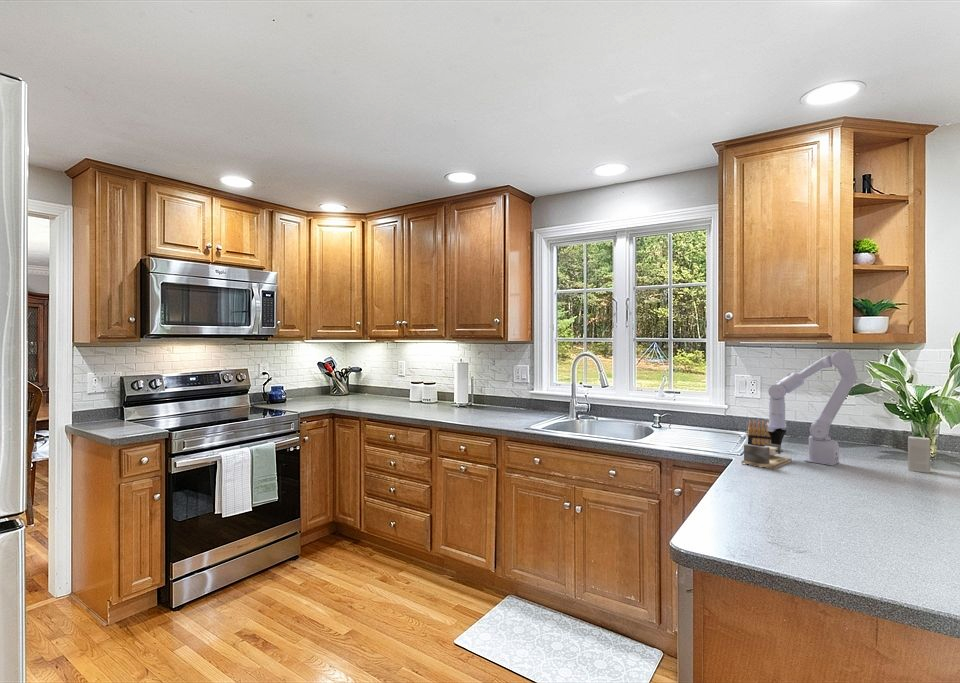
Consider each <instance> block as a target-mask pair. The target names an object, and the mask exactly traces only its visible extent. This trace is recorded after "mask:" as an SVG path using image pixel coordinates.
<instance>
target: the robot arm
mask: <svg viewBox="0 0 960 683" xmlns="http://www.w3.org/2000/svg"><path fill="white" fill-rule="evenodd" d="M833 366H834V367H835V368H836V369H837V370H838V371H837V372H838V373H839V375H840V377H841V378H840V379H839V381H838V383H837V385H836V386H835V388H834V390H833V391H832V393H831V396H830V397H829V399H828V401H827V403H826V404H825V405H824V407H823V409H822V411H821V413H820V415H819V416H818V418H817V419H816V420H814V421H813V422H812V423H811V424H810V427H809V429H808V430H809V434H810V435H809V436H808V458H806V459H805V460H804V461H805V462H808V463H815V464H821V465H826V466H827V465H829V466H835V465H837V464H839V463H840V458H839V456H840V455H839V453H840V452H839V451H840V450H839V449H840V445H839V442H838V441H836V440H832V438H831V437H830V435H829V434H830V430H831V425H832V423H833V422H834V420H835V418H836V416H837V414H838V412H839V410H840V409H841V408H842V405H843V404H844V402H845V400H846V398H847V397H848V395H849V393H850V392H851V390H852V388H853V386H854V384H855V383H856V381H857V378H858V375H857V370H856V364H855V361H854V358H852V355H851V354H850V353H849V352H847V351H846V350H841V349H840V350H836V351H834V352H833V353H832V354H831V353H830V354H828V355H826V356H824V357H821V358H820V359H817V361H815V362H813V363H811V364H810V365H809V366H807V367H806V368H804V369H803V370H801V371H799V372H792V373H791V372H789V373H786V376H785V377H784V378H782V379H780V380H776V383H775V384H772V385H771V386H770V387H769V388H768V390H767V391H768V395H769V398H768V421H769V423H767V422H766V423H765V427H767V431H768V433H769V434H770V437H771V439H772V443H773V444H778V445H781V446H782V443H783V439H784V436H785V435H786V433H787V429H786V428H787V423H786V402H785V401H786V400H785V399H786V398H785V396H786V394H790V393H792V392H793V391H795V390H797V389H798V388H799V387H801V386H803V385H804V383H805V379H807V378H809V377H810V376H813V375H814V374H816V373H818V372H819V371H821V370H823V369H827V368H828V369H829V368H832V367H833Z"/></svg>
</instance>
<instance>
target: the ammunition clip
mask: <svg viewBox="0 0 960 683" xmlns="http://www.w3.org/2000/svg"><path fill="white" fill-rule="evenodd" d="M756 421H757V420H755V419H754V420H753V422H752V420H751V419H749V421H748V427H747V444H751V445H758V446H764V443H771V444H773V443H772V439H771V437H770V434H769V433H768V431H767V426H766V424H767V423H769V420H767V422H765V420H764V419H763V420H762V422H761V421H760V420H759V419H758V421H757V422H756Z"/></svg>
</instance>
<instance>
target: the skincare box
mask: <svg viewBox="0 0 960 683" xmlns="http://www.w3.org/2000/svg"><path fill="white" fill-rule="evenodd" d="M907 463H908V464H907V466H908V468H907V469H908V472H909V471H911V472H918V473H926V474H930V473H931V438H929V437H920V436H910V435H908V437H907Z"/></svg>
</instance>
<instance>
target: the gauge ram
mask: <svg viewBox="0 0 960 683" xmlns="http://www.w3.org/2000/svg"><path fill="white" fill-rule="evenodd" d="M764 446H765V447H769V455H774V456H777V455H782V453H783V452H784V451H783V450H782V444H781V445H778V444H771V442H770V443H764Z"/></svg>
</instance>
